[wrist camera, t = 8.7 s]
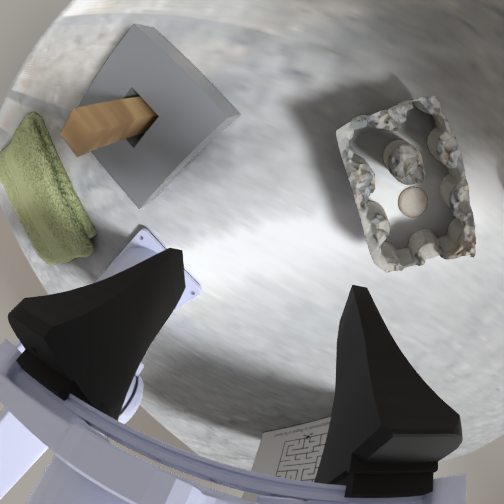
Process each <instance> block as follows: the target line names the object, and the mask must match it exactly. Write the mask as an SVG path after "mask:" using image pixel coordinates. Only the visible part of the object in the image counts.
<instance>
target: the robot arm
mask: <svg viewBox="0 0 504 504" xmlns="http://www.w3.org/2000/svg"><path fill="white" fill-rule="evenodd" d="M141 236H142V237H143V238H142V237H141ZM193 291H194V292H193ZM201 292H202V288H201V287H200V286H199V285H198V284H197V283H196V281H195V280H194V279H193V278H192V277H191V276H190V275H189V274H188V273H187V272H186V271H185V270H184V265H183V254H182V250H178V249H173V248H169V249H166V250H165V248H164V247H163V246H162V245H161V244H160V243H159V242H158V241H157V240H156V239H155V237H154V236H153V235H152V234H151V233H150V232H149V231H148V230H147V229H145V228H143V229H141V230H140V231H139V232H138V233H137V234H136V236H135V237H134V238H133V239H132V240H131V241H130V242H129V243H128V244H127V246H126V247H125V248H124V249H123V250H122V251H121V252H120V254H119V255H118V256H117V257H116V258H115V259H114V261H113V262H112V263H111V264H110V265H109V267H108V268H107V269H106V270H105V272H104V273H103V274H102V275H101V276H100V277H99V278H98V279H97V280H96V281H95V282H94V283H93V284H90V285H87V286H84V287H80V288H77V289H74V290H70V291H66V292H62V293H57V294H52V295H46V296H38V297H31V298H24V299H23V300H22V301H21V302H20V303H19V304H18V305H17V306H16V307H15V308H14V309H13V310H12V311H11V312H10V313H9V314H8V320H9V323H10V325H11V327H12V329H13V331H14V332H15V334H16V336H17V337H18V338H17V339H16V340H15V341H14V345H13V344H11V343H10V342H9V341H8V340H7V339H5V340H4V341H3V342H2V343H1V344H0V402H1V403H2V404H3V405H4V406H5V407H4V408H3V409H2V411H1V412H0V499H1V498H2V497H3V496H4V495H5V494H6V493H7V492H8V491H9V490H10V489H11V488H12V486H13V485H14V484H15V483H16V482H17V481H18V480H19V479H20V478H21V477H22V476H23V475H24V474H25V472H26V471H27V470H28V469H29V468H30V467H31V466H32V465H33V464H34V463H35V462H36V461H37V459H39V458H40V457H41V455H42V454H43V453H44V452H45V451H46V450H47V449H48V448H50V449H51V450H52V451H53V452H54V454H55V455H54V457H53V458H52V460H51V462H50V463H49V465H48V467H47V468H46V470H45V471H44V473H43V475H42V477H41V478H40V480H39V482H38V484H37V485H36V487H35V488H34V490H33V492H32V493H31V495H30V497H29V499H28V501H27V502H26V504H466V475H465V474H460V475H454V476H447V477H441V478H437V479H434V480H433V472H436V471H437V470H438V461H439V460H441V459H442V458H444V457H445V456H447V455H449V454H450V453H452V452H453V451H454V450H455V449H457V448H458V447H459V445H460V444H461V443H462V428H461V421H460V415H459V414H458V413H457V412H455V411H454V410H453V409H452V408H451V407H450V406H449V405H447V404H446V403H445V402H444V401H443V400H442V399H441V398H440V397H439V396H438V395H437V394H436V393H435V392H434V391H433V390H432V389H431V388H430V387H429V386H428V385H427V384H426V383H425V382H424V380H423V379H422V378H421V377H420V376H419V374H418V373H417V372H416V371H415V370H414V368H413V367H412V366H411V364H410V363H409V362H408V360H407V359H406V357H405V356H404V355H403V353H402V352H401V350H400V349H399V347H398V346H397V344H396V342H395V341H394V339H393V337H392V336H391V334H390V332H389V330H388V329H387V327H386V325H385V323H384V321H383V319H382V317H381V315H380V313H379V311H378V309H377V307H376V305H375V303H374V301H373V299H372V297H371V295H370V293H369V291H368V289H367V288H366V287H361V286H356V285H352V287H351V290H350V293H349V296H348V299H347V302H346V305H345V308H344V311H343V314H342V317H341V319H340V323H339V331H338V339H337V359H336V386H335V397H334V403H333V409H332V414H331V420H330V424H329V429H328V434H327V438H326V442H325V446H324V450H323V454H322V457H321V461H320V464H319V468H318V471H317V474H316V477H315V480H314V482H306V481H299V480H293V479H287V478H282V477H276V476H271V475H267V474H262V473H258V472H253V471H249V470H245V469H241V468H237V467H234V466H230V465H227V464H223V463H220V462H217V461H213V460H210V459H207V458H204V457H201V456H198V455H195V454H192V453H190V452H187V451H184V450H181V449H179V448H176V447H174V446H171V445H169V444H166V443H164V442H162V441H159V440H157V439H154V438H152V437H150V436H148V435H146V434H143V433H141V432H139V431H137V430H135V429H133V428H131V427H129V426H127V425H125V423H126V422H127V421H128V420H129V419H130V418H131V417H132V416H133V415H134V413H135V412H136V410H137V409H138V407H139V405H140V403H141V400H142V397H143V388H144V383H143V380H142V378H141V377H140V376H139V374H140V372H141V370H142V369H143V367H144V365H143V364H142V363H141V361H142V359H143V357H144V355H145V353H146V351H147V349H148V348H149V346H150V344H151V343H152V341H153V340H154V338H155V337H156V335H157V334H158V332H159V331H160V329H161V328H162V326H163V325H164V324H165V322H166V321H167V319H168V318H169V316H170V315H171V313H172V312H173V310H174V309H176V308H178V307H179V306H181V305H183V304H184V303H186V302H188V301H189V300H191V299H193V298H194V297H196V296H198V295H199V294H200V293H201ZM105 436H107V437H109V438H111V439H112V440H114V441H116V442H118V443H120V444H122V445H124V446H126V447H127V448H129V449H132V450H133V451H136V452H138V453H140V454H142V455H144V456H146V457H148V458H150V459H153V460H155V461H157V462H159V463H162V464H164V465H167V466H169V467H172V468H174V469H177V470H179V471H182V472H184V473H187V474H190V475H192V476H196V477H198V478H201V479H204V480H207V481H210V482H214V483H217V484H220V485H223V486H227V487H230V488H234V489H238V490H242V491H246V492H250V493H254V494H259V495H263V496H258V497H257V498H256V501H255V502H253V501H250V500H246V499H243V498H239V497H236V496H232V495H230V494H226V493H223V492H220V491H218V490H215V489H212V488H209V487H206V486H204V485H201V484H198V483H196V482H193V481H191V480H188V479H186V478H183V477H181V476H178V475H176V474H173V473H171V472H169V471H166V470H164V469H162V468H160V467H157V466H155V465H153V464H151V463H149V462H146V461H144V460H142V459H140V458H138V457H136V456H134V455H132V454H130V453H128V452H126V451H124V450H122V449H120V448H118V447H116V446H115V445H113V444H111V443H110V441H109V440H108V439H107V438H106V437H105Z"/></svg>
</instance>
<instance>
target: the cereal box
mask: <svg viewBox="0 0 504 504" xmlns="http://www.w3.org/2000/svg"><path fill="white" fill-rule="evenodd" d="M330 420H331V417H327V418H324V419H320V420H317V421H313V422H309V423H305V424H301V425H297V426H293V427H288V428H284V429H279V430H274V431H269V432H264V433H263V435H262V438H261V442H260V445H259V448H258V451H257V454H256V457H255V461H254V464H253V467H252V470H251V471H253V472H258V473H262V474H267V475H271V476H276V477H282V478H287V479H293V480H299V481H306V482H314V480H315V477H316V474H317V471H318V468H319V464H320V461H321V457H322V454H323V450H324V446H325V442H326V438H327V434H328V429H329V424H330ZM258 496H263V495H259V494H254V493H250V492H246V491H244V493H243V497H242V498H243V499H246V500H250V501H253V502H255V501H256V498H257V497H258Z"/></svg>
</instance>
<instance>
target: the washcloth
mask: <svg viewBox="0 0 504 504" xmlns="http://www.w3.org/2000/svg"><path fill="white" fill-rule="evenodd" d="M0 181H1V183H2V184H3V186H4V188H5V190H6V192H7V195H8V198H9V201H10V204H11V205H12V207H13V209H14V211H15V213H16V215H17V216H18V218H19V220H20V222H21V224H22V226H23V227H24V229H25V232H26V233H27V235H28V237H29V239H30V242H31V243H32V245H33V247H34V249H35V251H36V252H37V254H38V255H39V256H40V257H41V258H42V259H43V260H44V261H45V262H46V263H48V264H50V265H55V264H61V263H69V262H71V261H72V260H73V259H74V258H78V257H82V258H86V257H89V256H90V255H92V254H93V252H94V250H93V244H92V242H91V241H90V240H89V239H91V238H92V237H93V236H95V235H96V231H95V229H94V226H93V225H92V223H91V222H90V219H89V218H88V216H87V213H86V212H85V210H84V209H83V207H82V204H81V203H80V201H79V198H78V197H77V194H76V193H75V191H74V189H73V187H72V184H71V182H70V181H69V177H68V176H67V174H66V173H65V169H64V168H63V166H62V164H61V161H60V159H59V157H58V154H57V152H56V149H55V148H54V145H53V144H52V142H51V139H50V136H49V135H48V131H47V129H46V127H45V125H44V121H43V119H42V118H41V117H40V116H39V115H38V114H37V113H34V112H31V113H30V114H29V113H28V114H27V115H26V116H25V117H24V119H23V120H22V122H21V124H20V126H19V127H18V129H17V130H16V132H15V133H14V135H13V137H12V141H11V143H10V144H9V145H8V146H6V148H4V149H3V150H2V151H1V152H0Z"/></svg>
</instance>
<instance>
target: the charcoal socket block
mask: <svg viewBox="0 0 504 504" xmlns="http://www.w3.org/2000/svg"><path fill="white" fill-rule="evenodd" d="M140 96H141V97H142V98H143V100H144V101H145V102H146V103H147V104H148V105H149V106H150V107H151V108H152V109H153V111H154V112H155V113H156V114H157V115H158V116H159V117H158V118H157V119H156V121H155V122H154V123H153V124H152V125H151V127H150V128H149V129H148V130H147V132H146V133H145V132H144V133H141V134H138V135H135V136H132V137H129V138H126V139H123V140H120V141H117V142H114V143H112V144H109V145H106V146H103V147H101V148H98V149H95V150H93V151H91V152H92V153H93V155H94V156H95V157H96V158H97V160H98V161H99V162H100V163H101V164H102V166H103V167H104V168H105V169H106V171H107V172H108V173H109V174H110V175H111V177H112V178H113V179H114V180H115V181H116V183H117V184H118V185H119V186H120V187H121V189H122V190H123V191H124V192H125V193H126V194H127V196H128V197H129V198H130V199H131V200H132V201H133V203H134V204H135V205H136V206H137V207H138V208H139V209H140V208H142V207H143V206H144V205H146V204H147V203H149V202H150V201H152V200H153V199H154V198H156V197H157V196H158V195H159V194H160V193H161V191H162V190H163V189H164V188H165V187H166V186H167V185H168V184H169V183H170V182H171V181H172V180H173V179H174V178H175V177H176V176H177V175H178V174H179V173H180V171H181V170H182V169H183V168H184V167H185V166H186V165H187V164H188V163H189V162H190V161H191V160H192V159H193V158H194V157H195V156H196V155H197V154H198V153H199V152H200V151H202V150H203V149H204V148H205V147H206V146H207V145H208V144H209V143H210V142H211V141H212V140H213V139H214V138H215V137H216V136H217V135H218V134H219V133H221V132H222V131H223V130H224V129H225V128H226V127H227V126H228V125H229V124H230V123H232V122H233V121H234V120H235V119H236V118H237V117H238V116H239V115H241V114H240V113H239V112H238V111H237V110H236V108H235V107H234V106H233V105H232V104H231V103H230V102H229V101H228V100H227V99H226V98H225V97H224V96H223V94H222V93H221V92H220V91H219V90H218V89H217V88H216V87H215V86H214V85H213V84H212V83H211V82H210V81H209V80H208V79H207V78H206V77H205V76H204V75H203V74H202V73H201V72H200V71H199V70H198V69H197V68H196V67H195V66H194V65H193V64H192V63H191V62H190V61H189V60H188V59H187V58H186V57H185V56H184V55H183V54H182V53H181V52H180V51H179V50H178V49H177V48H176V47H175V46H174V45H173V44H171V43H170V42H169V41H168V40H167V39H166V38H165V37H164V36H163V35H162V34H161V33H160V32H158V31H157V30H156V29H155V28H153V27H148V26H143V25H138V24H134V25H133V26H132V27H131V29H130V30H129V31H128V32H127V34H126V35H125V36H124V38H123V39H122V40H121V41H120V43H119V44H118V46H117V47H116V48H115V50H114V51H113V52H112V54H111V55H110V57H109V58H108V60H107V61H106V63H105V64H104V66H103V67H102V69H101V70H100V72H99V73H98V75H97V76H96V78H95V79H94V81H93V83H92V84H91V86H90V88H89V89H88V91H87V93H86V94H85V96H84V98H83V100H82V101H81V103H80V105H79V107H82V106H87V105H92V104H97V103H102V102H108V101H113V100H119V99H126V98H133V97H140Z"/></svg>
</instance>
